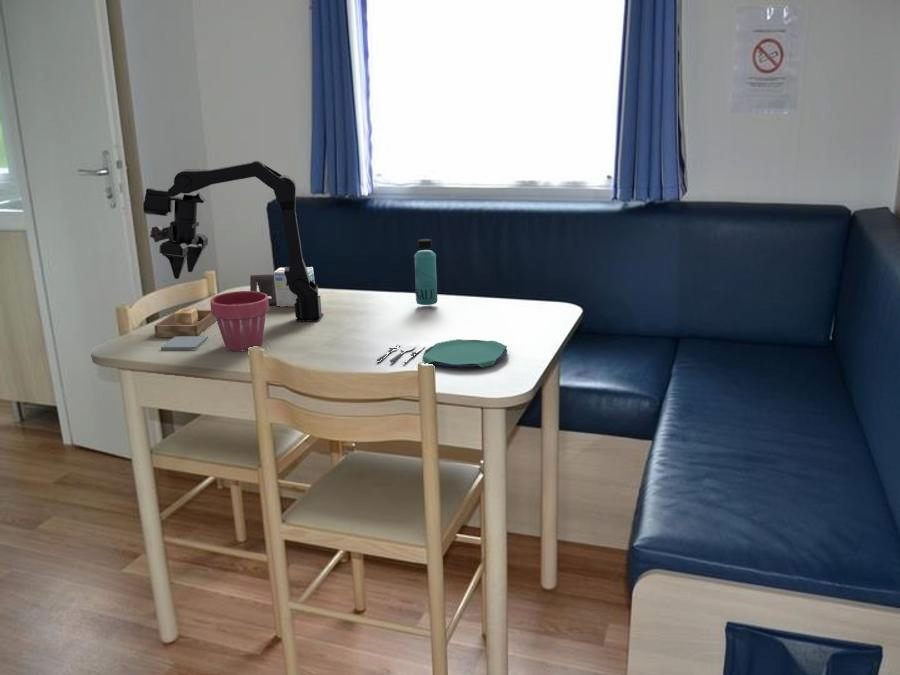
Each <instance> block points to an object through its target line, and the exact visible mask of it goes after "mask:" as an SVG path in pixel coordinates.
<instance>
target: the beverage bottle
mask: <svg viewBox="0 0 900 675" xmlns="http://www.w3.org/2000/svg"><path fill="white" fill-rule="evenodd" d="M432 243H433V242H432V239H429V238H421V239H418V240H417V248H418V249H422V250H418V251H416V253H415V254H414V256H413V257H414V270H413V271H414V280H415V284H414V286H415V288H414V289H415V293H414V294H415V302H416V304H417V305H421V306H431V305H435V304H437V303H438V280H437V254H436V253H435V252H434V251H433V250H431V249H429V248H432V247H433V244H432Z"/></svg>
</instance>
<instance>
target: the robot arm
mask: <svg viewBox="0 0 900 675" xmlns="http://www.w3.org/2000/svg"><path fill="white" fill-rule="evenodd" d="M173 178H174V179H173V185H172V186H170V187H169V188H167V190H163V189H155V188H152V187H150V188H149V187H148V188H146V189H145V194H144V201H143V207H142V208H143V214H144V215H150V216H163V217H168V215H169V213H170V214H172V213H173V211H174V213H173V220H172V221H171V222H169V226H164V227H162V226H161V225H157V226H156V225H155V226H153V227H152V226H151V230H150V235H149V237H150V238H151V239H153V242H154V243H158V242H160V241H163V242H161V244H160V245H159V254H161V255H162V256H164V257H165V258H166V259H168V261H169V264H170V267H171V271H172V275H173V277H174V279H175V280H179V279H180V277H181V275H182V272H183V270H184V266H185V264H186V266H187V272H188V273H193V272H194V270H195V268H196V265H197V264H198V262H199V260H200V258H201V256H202V255H203V254H204V253H203V252H204V250H205V249H206V248H207V247H206V246H209V245H208V244H209V243H208V242H209V239H208V236H206V234H200V233H197V227H199V226H200V222H199V221H197V219H198V218H197V217H198V204H204V203H205V201H206V199H205V197H203V195H201V193H200V192H197V193H196V194H191V193H194V192H196V191H199V190H201V189H204V188H207V187H209V186H212V185H216V184H221V183H226V182H228V183H229V182H232V181H239V180H243V179H244V180H245V179H249V178H250V179H251V178H257V179H258V180H259V181H261V182H262V183H263V184H264V185H266V186H267V187H269V188H270V189H272V190H273V192H274V196H275V199H276V202H277V203H278V207H279V209H280V211H281V212H280V213H281V217H282V222H283V223H282V224H283V229H284V236H285V243H286V248H287V249H286V250H287V254H288V263H289V266H285V267H284V268H285V270H284V273H285V276H286V279H287V282H286V286H288V285H289V289H290V291H291V292H292V293H294V294H296V295H297V298H296V303H295V304H294V305H295V306H294V313H295V314H294V315H295V322H319V321H320V320H321V319H322V318H323V317H324V313H323V312H322V303H321V302H322V301H321V300H322V299H321V295H319V286H318V285H317V284H316V282H315V283H313V282H312V281H311V280H310V277H309V274H308V271H307V268H306V267H307V266H306V263H305V260H304V258H303V252H302V246H301V240H300V238H301V237H300V232H299V226H298V218H297V213H296V212H297V211H296V203H297V202H296V201H297V200H296V198H297V197H296V196H297V193H296V192H297V184H296V181H295V179H294V178H293V177H291V176H289V175H286V174H282V173H279V172H278V171H276V170H275V169H273V168H271V167H269V166H267V165H266V164H264V163H263V162H262V161H260V160H253V161H251V162H246V163H240V164H234V165H229V166H223V167H217V168H212V169H202V168H194V169H193V168H189V169H188V168H187V169H186V168H185V169H183V170H181V171H179V172H178V173H176V174H175V176H174V177H173ZM180 194H183V196H182V197H180V196H178V195H180ZM167 239H168V240H167ZM164 240H166V241H164Z"/></svg>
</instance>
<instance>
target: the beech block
mask: <svg viewBox="0 0 900 675" xmlns="http://www.w3.org/2000/svg"><path fill="white" fill-rule="evenodd" d="M178 310H179V311H177V310H176V311H177V312H176V313H175V319H176V325H195V324H197V323H198V322H199V321H198V313H197V310H198V308H180V309H178Z"/></svg>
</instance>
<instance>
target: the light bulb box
mask: <svg viewBox="0 0 900 675" xmlns="http://www.w3.org/2000/svg"><path fill="white" fill-rule="evenodd" d="M306 268H307V271H308V274H309V277H310V280H311V281H312V282H313V283H315V284H316V282H315V275H314V274H315V273H314V267H313V266H310V267H309V266H306ZM284 270H285V267H278V268H277V269H276V270H275V271H273V274H274V283H275V292H276V302H277V305H276V307H277V306H280V308H281V307H284V308H285V306H288V307H292V308H293V307H295V305H294V304H295V303H296V298H297V295H296V294H294V293H292V292H291V291H290V289H289V285H288V286H286V282H287V279H286V276H285V273H284Z"/></svg>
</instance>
